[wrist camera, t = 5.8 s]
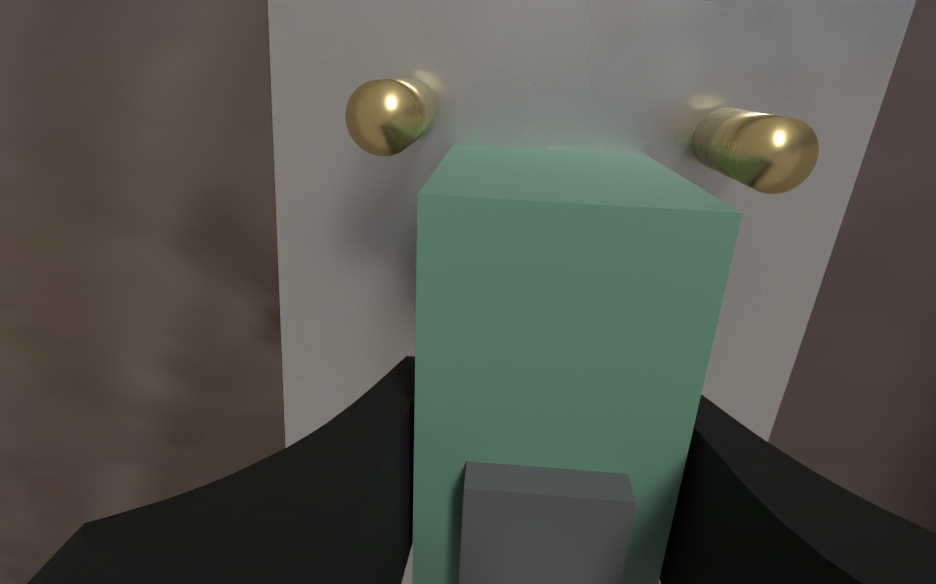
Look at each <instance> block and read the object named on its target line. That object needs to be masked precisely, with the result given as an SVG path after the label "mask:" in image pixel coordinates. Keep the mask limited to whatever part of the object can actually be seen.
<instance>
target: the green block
mask: <svg viewBox="0 0 936 584" xmlns="http://www.w3.org/2000/svg"><path fill="white" fill-rule="evenodd" d="M741 217H742V213H741V212H740V211H738V210H736V209H735V208H733V207H731V206H730V205H728V204H726V203H725V202H723V201H722V200H720V199H718V198H717V197H715V196H713V195H712V194H710V193H708V192H707V191H705V190H703V189H702V188H700V187H698V186H697V185H695V184H693V183H692V182H690V181H688V180H687V179H685V178H683V177H682V176H680V175H678V174H677V173H675V172H673V171H672V170H670V169H669V168H667V167H665V166H664V165H662V164H660V163H659V162H657V161H655V160H654V159H652V158H650V157H649V156H639V155H621V154H602V153H584V152H566V151H548V150H530V149H511V148H493V147H475V146H457V145H453V146H452V147H451V148H450V150H449V151H448V153H447V154H446V155H445V157H444V158H443V159H442V161H441V162H440V164H439V165H438V166H437V168H436V169H435V170H434V172H433V173H432V175H431V176H430V177H429V179H428V180H427V181H426V183H425V184H424V186H423V187H422V188H421V190H420V191H419V192H418V194H417V258H416V334H415V410H414V487H413V563H412V584H658V582H659V578H660V573H661V569H662V565H663V560H664V556H665V551H666V547H667V543H668V538H669V534H670V529H671V525H672V521H673V516H674V512H675V507H676V503H677V499H678V494H679V490H680V485H681V481H682V477H683V472H684V468H685V463H686V459H687V455H688V450H689V446H690V441H691V437H692V433H693V428H694V424H695V419H696V415H697V411H698V406H699V402H700V397H701V393H702V389H703V384H704V380H705V375H706V371H707V367H708V362H709V358H710V354H711V349H712V345H713V340H714V336H715V332H716V327H717V323H718V318H719V314H720V310H721V305H722V301H723V296H724V292H725V288H726V283H727V279H728V274H729V270H730V266H731V261H732V257H733V252H734V248H735V244H736V239H737V235H738V230H739V226H740V222H741Z"/></svg>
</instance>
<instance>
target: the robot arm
mask: <svg viewBox="0 0 936 584" xmlns="http://www.w3.org/2000/svg"><path fill="white" fill-rule="evenodd" d="M414 410H415V356H406V357H405V358H404V359H403V360H401V361H400V362H399V363H398V364H397V365H396V366H395V367H393V368H392V369H391V370H390V371H389V372H388V373H387V374H386V375H385V376H384V377H383V378H382V379H380V380H379V381H378V382H377V383H376V384H375V385H374V386H373V387H371V388H370V389H369V390H368V391H367V392H366V393H364V394H363V395H362V396H361V397H360V398H359V399H357V400H356V401H355V402H354V403H353V404H351V405H350V406H349V407H347V408H346V409H345V410H343V411H342V412H341V413H339V414H338V415H337V416H335V417H334V418H333V419H331V420H330V421H329V422H327V423H326V424H324V425H323V426H321V427H320V428H318V429H317V430H315V431H314V432H312V433H310V434H309V435H307V436H305V437H304V438H302V439H300V440H299V441H297V442H295V443H294V444H292V445H290V446H288V447H287V448H285V449H283V450H281V451H279V452H277V453H275V454H273V455H271V456H269V457H267V458H265V459H263V460H261V461H259V462H257V463H255V464H253V465H250V466H248V467H246V468H244V469H242V470H240V471H238V472H236V473H234V474H231V475H229V476H227V477H224V478H222V479H219V480H217V481H214V482H212V483H209V484H207V485H204V486H202V487H199V488H196V489H194V490H191V491H188V492H185V493H183V494H180V495H177V496H174V497H171V498H168V499H165V500H162V501H160V502H156V503H153V504H149V505H146V506H143V507H139V508H136V509H133V510H129V511H126V512H122V513H119V514H116V515H112V516H109V517H106V518H102V519H98V520H95V521H91V522H87V523H84V524H83V525H82V526H81V527H80V528H79V529H78V530H77V531H76V532H75V533H74V534H73V535H72V536H71V537H70V539H69V540H68V541H67V542H66V543H65V544H64V545H63V546H62V547H61V548H60V549H59V550H58V551H57V552H56V553H55V554H54V555H53V556H52V558H51V559H50V560H49V561H48V562H47V563H46V564H45V565H44V566H43V567H42V568H41V569H40V570H39V572H38V573H37V574H36V575H35V576H34V577H33V578H32V579H31V580H30V581H29V582H28V583H27V584H401V583H402V579H403V576H404V572H405V569H406V565H407V561H408V558H409V554H410V551H411V547H412V543H413V487H414ZM659 580H660V583H661V584H936V533H933V532H931V531H929V530H927V529H925V528H922V527H920V526H918V525H916V524H914V523H912V522H910V521H908V520H906V519H903V518H901V517H899V516H897V515H895V514H893V513H891V512H889V511H887V510H884V509H882V508H880V507H878V506H876V505H874V504H872V503H870V502H869V501H867V500H865V499H863V498H861V497H859V496H857V495H855V494H853V493H851V492H850V491H848V490H846V489H844V488H842V487H841V486H839V485H837V484H835V483H833V482H832V481H830V480H828V479H826V478H824V477H823V476H821V475H819V474H817V473H816V472H814V471H812V470H811V469H809V468H807V467H806V466H804V465H802V464H801V463H799V462H797V461H796V460H794V459H793V458H791V457H790V456H788V455H787V454H785V453H784V452H782V451H781V450H779V449H777V448H776V447H774V446H773V445H771V444H770V443H768V442H767V441H765V440H764V439H762V438H761V437H760V436H758V435H757V434H755V433H754V432H752V431H751V430H750V429H748V428H747V427H745V426H744V425H742V424H741V423H740V422H738V421H737V420H736V419H734V418H733V417H731V416H730V415H729V414H727V413H726V412H725V411H723V410H722V409H721V408H719V407H718V406H717V405H715V404H714V403H713V402H711V401H710V400H709V399H707V398H706V397H705V396H703V395H702V394H701V397H700V402H699V406H698V411H697V415H696V419H695V424H694V428H693V433H692V437H691V441H690V446H689V450H688V455H687V459H686V463H685V468H684V472H683V477H682V481H681V485H680V490H679V494H678V499H677V503H676V507H675V512H674V516H673V521H672V525H671V529H670V534H669V538H668V543H667V547H666V551H665V556H664V560H663V565H662V569H661V573H660V578H659Z"/></svg>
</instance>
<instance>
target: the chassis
mask: <svg viewBox="0 0 936 584" xmlns="http://www.w3.org/2000/svg"><path fill="white" fill-rule="evenodd" d="M915 3H916V0H268V19H269V44H270V69H271V94H272V119H273V143H274V168H275V193H276V218H277V243H278V268H279V293H280V318H281V343H282V368H283V393H284V418H285V443H286V448H287V447H288V446H290V445H292V444H294V443H295V442H297V441H299V440H300V439H302V438H304V437H305V436H307V435H309V434H310V433H312V432H314V431H315V430H317V429H318V428H320V427H321V426H323V425H324V424H326V423H327V422H329V421H330V420H331V419H333V418H334V417H335V416H337V415H338V414H339V413H341V412H342V411H343V410H345V409H346V408H347V407H349V406H350V405H351V404H353V403H354V402H355V401H356V400H357V399H359V398H360V397H361V396H362V395H363V394H364V393H366V392H367V391H368V390H369V389H370V388H371V387H373V386H374V385H375V384H376V383H377V382H378V381H379V380H380V379H382V378H383V377H384V376H385V375H386V374H387V373H388V372H389V371H390V370H391V369H392V368H393V367H395V366H396V365H397V364H398V363H399V362H400V361H401V360H403V359H404V358H405V357H406V356H415V334H416V258H417V194H418V192H419V191H420V190H421V188H422V187H423V186H424V184H425V183H426V181H427V180H428V179H429V177H430V176H431V175H432V173H433V172H434V170H435V169H436V168H437V166H438V165H439V164H440V162H441V161H442V159H443V158H444V157H445V155H446V154H447V153H448V151H449V150H450V148H451V147H452V146H453V145H457V146H475V147H493V148H511V149H530V150H548V151H566V152H584V153H602V154H621V155H639V156H649V157H650V158H652V159H654V160H655V161H657V162H659V163H660V164H662V165H664V166H665V167H667V168H669V169H670V170H672V171H673V172H675V173H677V174H678V175H680V176H682V177H683V178H685V179H687V180H688V181H690V182H692V183H693V184H695V185H697V186H698V187H700V188H702V189H703V190H705V191H707V192H708V193H710V194H712V195H713V196H715V197H717V198H718V199H720V200H722V201H723V202H725V203H726V204H728V205H730V206H731V207H733V208H735V209H736V210H738V211H740V212H741V213H742V217H741V222H740V226H739V230H738V235H737V239H736V244H735V248H734V252H733V257H732V261H731V266H730V270H729V274H728V279H727V283H726V288H725V292H724V296H723V301H722V305H721V310H720V314H719V318H718V323H717V327H716V332H715V336H714V340H713V345H712V349H711V354H710V358H709V362H708V367H707V371H706V375H705V380H704V384H703V389H702V393H701V394H702V395H703V396H705V397H706V398H707V399H709V400H710V401H711V402H713V403H714V404H715V405H717V406H718V407H719V408H721V409H722V410H723V411H725V412H726V413H727V414H729V415H730V416H731V417H733V418H734V419H736V420H737V421H738V422H740V423H741V424H742V425H744V426H745V427H747V428H748V429H750V430H751V431H752V432H754V433H755V434H757V435H758V436H760V437H761V438H762V439H764V440H765V441H767V442H768V439H769V436H770V433H771V430H772V427H773V424H774V421H775V418H776V415H777V412H778V409H779V406H780V403H781V400H782V397H783V395H784V392H785V389H786V386H787V383H788V380H789V377H790V374H791V371H792V368H793V365H794V362H795V359H796V356H797V353H798V350H799V347H800V344H801V341H802V338H803V335H804V332H805V329H806V326H807V323H808V320H809V317H810V314H811V311H812V308H813V305H814V302H815V300H816V297H817V294H818V291H819V288H820V285H821V282H822V279H823V276H824V273H825V270H826V267H827V264H828V261H829V258H830V255H831V252H832V249H833V246H834V243H835V240H836V237H837V234H838V231H839V228H840V225H841V222H842V219H843V216H844V213H845V210H846V207H847V205H848V202H849V199H850V196H851V193H852V190H853V187H854V184H855V181H856V178H857V175H858V172H859V169H860V166H861V163H862V160H863V157H864V154H865V151H866V148H867V145H868V142H869V139H870V136H871V133H872V130H873V127H874V124H875V121H876V118H877V115H878V112H879V109H880V107H881V104H882V101H883V98H884V95H885V92H886V89H887V86H888V83H889V80H890V77H891V74H892V71H893V68H894V65H895V62H896V59H897V56H898V53H899V50H900V47H901V44H902V41H903V38H904V35H905V32H906V29H907V26H908V23H909V20H910V17H911V14H912V12H913V9H914V6H915ZM412 563H413V543H412V547H411V551H410V554H409V558H408V561H407V565H406V569H405V572H404V576H403V579H402V583H401V584H412ZM658 584H661V583H660V580H659V582H658Z"/></svg>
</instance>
